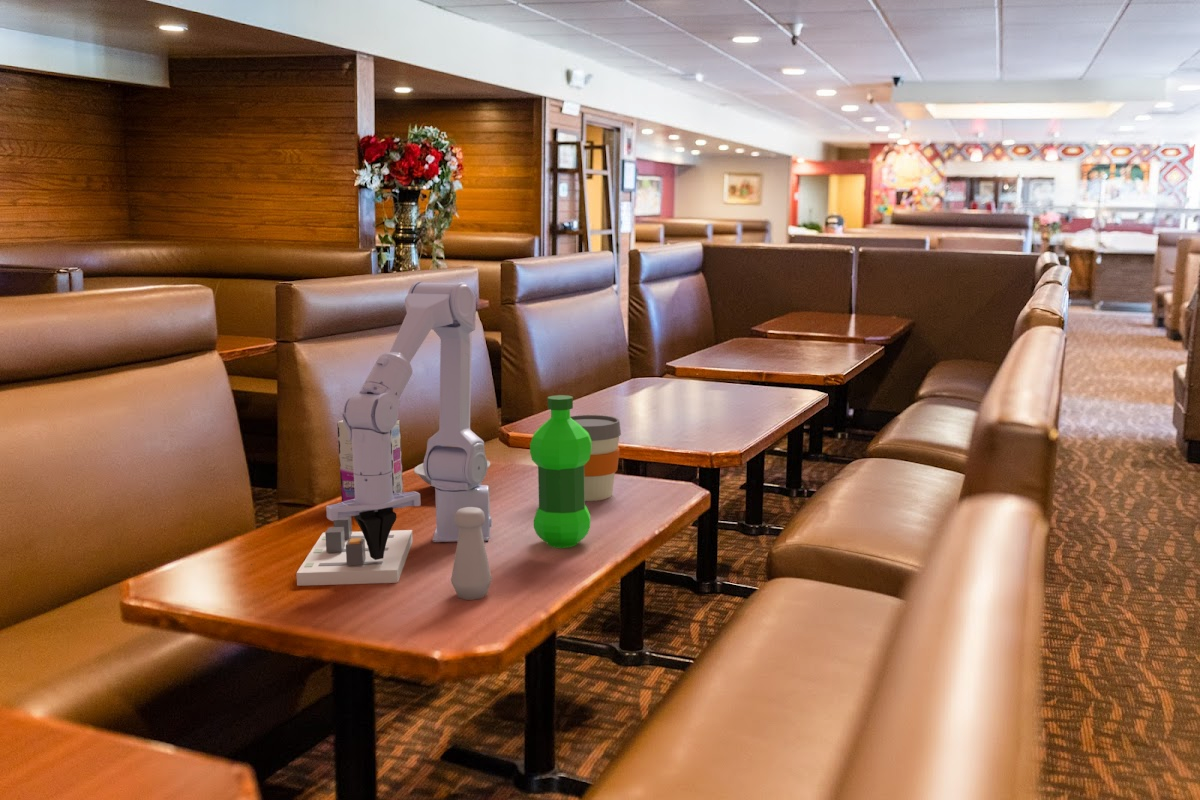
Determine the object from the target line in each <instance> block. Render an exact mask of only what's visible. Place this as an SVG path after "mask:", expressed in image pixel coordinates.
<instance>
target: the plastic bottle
mask: <svg viewBox="0 0 1200 800" xmlns="http://www.w3.org/2000/svg"><path fill="white" fill-rule="evenodd" d="M573 408H574V396H571V395H567V394H566V395H564V394H558V395H550V396H547V410H550V416H551V417H550V418H549V419H547V420H546V421H545V422H544V423H543V424H542V425H540V427H539V428H538V429H536V430H535V432H534V433H533V435H532V438H531V441H530V444H529V453H530V458H531V460H532V462H533V463H535V465H536V466H537V468H538V469H537V475H538V476H537V478H538V481H537V482H538V507H537V509H536V513H535V514H534V518H533V529H534V531H535V534H536V535H537V537H539V538H540V539H541V540H542V541H543V542H545V544H546V545H547V546H549V547H551V548H559V549H566V548H573V547H575V546H577V545H578V544H579V543H580V542H581V541H582V540H583V539H584V538H585V537H586V536H587V535H588V533H589V531H590V528H591V514H590V511H589V509H588V507H587V505H586V501H585V484H584V465H585V464H586V463H587V462H588V461H589V459H590V454H591V438H590V435H589V433H588V432H587V431H586V430H585V429H584V428H583V427H582V426H580V425H579V424H578V423H577V422H576V421H574V420H573V419H572V418H571V417H570V416H571V412H570V411H571V410H573Z"/></svg>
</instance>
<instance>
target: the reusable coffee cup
mask: <svg viewBox="0 0 1200 800" xmlns="http://www.w3.org/2000/svg"><path fill="white" fill-rule="evenodd" d="M570 417H571V418H572V419H573V420H574V421H576V422H577V423H578V424H579V425H580V426H582V427H583V428H584V429H585V430H586V431H587V432H588V433H589V435H590V438H591V454H590V459H589V461H588V462H587V463H586V464H585V465H584V484H585V502H594V501H603V500H606V499H607V500H608V499H609V498H611V497H612V496H613V490H614V483H615V473H616V472H617V471H618V466H619V459H620V449H621V448H620V447H619V442H620V441H619V440H620V436H621V435H622V431H621V424H620V419H619V418H617V417H614V416H610V415H609V416H608V415H602V414H601V415H600V414H599V415H598V414H583V415H582V414H581V415H580V414H579V415H570Z"/></svg>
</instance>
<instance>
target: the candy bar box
mask: <svg viewBox="0 0 1200 800" xmlns="http://www.w3.org/2000/svg"><path fill="white" fill-rule="evenodd" d="M390 437H391V460H392V483H393V493H404V481H403V465H402V464H403V462H402V461H403V458H402V440H401V439H402V437H401V419H400V418H398V419H397V423H396V424H395V425H394V427H393V428H392V430H390ZM337 439H338V440H337V441H338V455H339V456H338V458H339V459H338V460H339V474H340V475H339V476H340V494H341V497H340V499H341V502H344V501H348V500H351V499H355V489H354V470H353V450H352V442H351V441H350V439H348V430H347V428H346V426H345V425H344V423H343V419H341V420H339V421H337Z"/></svg>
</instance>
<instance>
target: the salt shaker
mask: <svg viewBox="0 0 1200 800" xmlns="http://www.w3.org/2000/svg"><path fill="white" fill-rule="evenodd" d="M484 522H485V515H484V512H483V511H482V510H481V509H480V508H476V507H465V508H461V509H459V510H458V511H457V512H456V513H455V523H456V525H457V526H459V527H460V530H459V536H458V541H456V547H455V548H456V550H455V555H454V561H453V567H452V572H451V578H450V581H451V584H452V587H453V588H454V591H455V592H456V594H457V596H458V599H462V600H466V601H472V600H480V599H481V600H482V598H484V597H485V596H487V593H488V591H489V588H490V585H491V584H492V575H491V568H490V564H489V563H490V562H489V558H488V554H487V549H486V545H485V541H484V539H483V534H482V529H481V525H483V524H484Z"/></svg>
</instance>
